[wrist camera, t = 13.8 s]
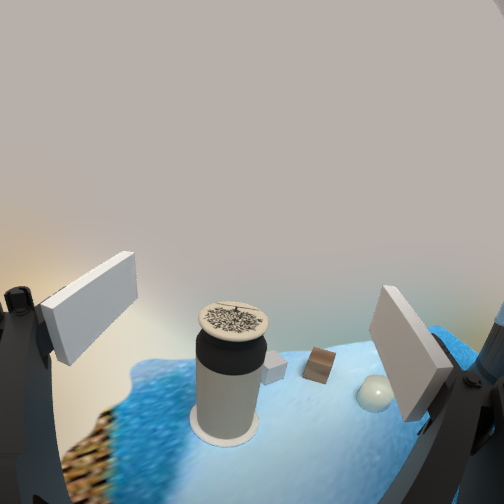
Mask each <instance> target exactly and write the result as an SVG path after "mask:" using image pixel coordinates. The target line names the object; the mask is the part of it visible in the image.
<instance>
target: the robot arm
mask: <svg viewBox="0 0 504 504" xmlns="http://www.w3.org/2000/svg"><path fill="white" fill-rule="evenodd" d="M494 1H495V3H496V5H497V6H498V8H499V10H500V11H501V13H502V15H503V17H504V0H494ZM4 297H5V301H6V304H7V308H8V311H9V312H3V309H2V305H1V303H0V504H73V502H72V501H71V499H70V497H69V495H68V492H67V488H66V484H65V480H64V476H63V472H62V467H61V462H60V457H59V452H58V445H57V439H56V431H55V424H54V413H53V401H52V378H51V377H52V374H51V357H50V354H49V353H51V352H52V351H53V350H54V351H55V354H56V357H57V359H58V361H60V362H62V363H64V364H66V365H68V366H71V365H72V364H73V363H74V362H75V361H76V360H77V358H79V357H80V355H81V354H82V353H83V352H84V351H85V350H86V349H87V348H88V347H89V346H90V345H91V344H92V343H93V342H94V341H95V340H96V339H97V338H98V337H99V336H100V335H101V334H102V333H103V332H104V331H105V330H106V329H107V328H108V327H109V326H110V325H111V323H113V322H114V321H115V320H116V319H117V318H118V317H119V316H120V315H121V314H122V313H123V312H124V311H125V310H126V309H127V308H128V307H129V306H130V305H131V304H132V303H133V302H134V301H135V300H136V299H137V298H138V293H137V280H136V265H135V253H134V252H128V251H123V252H121V253H119V254H117V255H116V256H114V257H112V258H111V259H109V260H107V261H106V262H104V263H102V264H101V265H99V266H97V267H96V268H94V269H93V270H91V271H89V272H88V273H86V274H85V275H83V276H82V277H80V278H78V279H77V280H75V281H74V282H72V283H71V284H69V285H68V286H65V287H63V288H62V289H60V290H59V291H58V292H56V293H54V294H53V295H52V296H50V297H48V298H47V299H46V300H44V301H43V302H41V303H40V304H38V305H37V306H35V307H34V303H33V299H32V296H31V291H30V289H29V288H28V287H25V286H19V287H15V288H12V289H10V290H8V291H7V292H6V293H5V294H4ZM494 321H495V323H494V325H493V327H492V329H491V331H490V334H489V336H488V338H487V340H486V342H485V344H484V346H483V348H482V350H481V352H480V353H479V355H478V357H477V359H476V361H475V362H474V363H473V364H472V365H471V366H470V367H469V368H468V369H467V370H466V371H463V370H462V369H461V367H460V366H459V364H458V363H457V362H456V360H455V359H454V357H453V356H452V354H450V351H449V350H448V349H447V348H446V346H445V344H444V343H443V342H442V340H441V339H440V338H438V337H437V336H436V335H435V334H433V333H430V332H429V330H428V329H427V327H426V326H425V325H424V323H423V322H422V321H421V319H420V318H419V316H418V315H417V314H416V313H415V311H414V310H413V309H412V307H411V306H410V305H409V303H408V302H407V301H406V300H405V298H404V297H403V296H402V294H401V293H400V292H399V291H398V289H397V288H396V287H395V286H386V285H383V286H382V289H381V293H380V296H379V300H378V303H377V306H376V310H375V313H374V316H373V319H372V322H371V325H370V328H369V332H370V335H371V337H372V339H373V342H374V344H375V347H376V349H377V351H378V354H379V356H380V359H381V361H382V364H383V366H384V369H385V371H386V374H387V377H388V379H389V382H390V384H391V387H392V390H393V393H394V395H395V398H396V401H397V404H398V406H399V409H400V412H401V415H402V418H403V421H404V422H410V421H418V420H420V419H421V418H422V417H423V415H424V414H425V412H426V411H427V410H428V412H429V415H430V418H429V419H428V420H427V422H426V423H425V424H424V426H423V427H422V428H421V430H420V431H419V432H418V433H417V435H420V436H419V438H418V440H417V442H416V443H415V445H414V447H413V449H412V451H411V453H410V454H409V456H408V458H407V460H406V461H405V463H404V465H403V467H402V468H401V470H400V471H399V473H398V475H397V476H396V478H395V479H394V481H393V482H392V484H391V485H390V487H389V488H388V490H387V491H386V493H385V494H384V496H383V497H382V498H381V500H380V501H379V502H378V504H451V503H452V501H453V499H454V497H455V494H456V492H457V489H458V487H459V484H460V487H459V493H458V499H457V504H504V302H503V304H502V306H501V308H500V311H499V313H498V315H497V316H496V317H495V320H494ZM494 427H495V430H494V433H493V435H492V429H493V428H494Z"/></svg>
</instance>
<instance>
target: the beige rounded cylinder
mask: <svg viewBox="0 0 504 504" xmlns="http://www.w3.org/2000/svg"><path fill="white" fill-rule="evenodd" d="M394 396H395V395H394V393H393V390H392V387H391V384H390V382H389V379H388V378H387V377H385V376H382V375H370V376H368V377H367V378H365V380H364V382H363V384H362V386H361V388H360V390H359V392H358V394H357V402H358V404H359V405H360V406H361V407H362V408H363V409H365V410H367V411H369V412H373V413H379V412H383V411H385V410H386V409H387V408H388V406H389V405H390V403H391V401H392V400H393V398H394Z"/></svg>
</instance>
